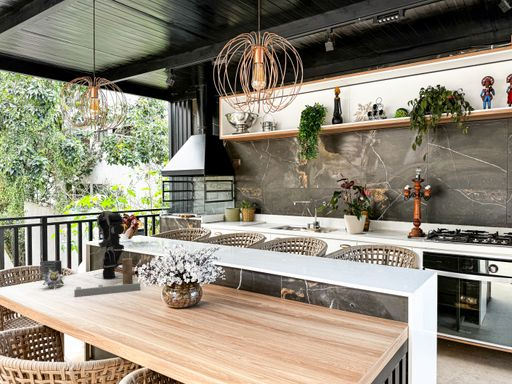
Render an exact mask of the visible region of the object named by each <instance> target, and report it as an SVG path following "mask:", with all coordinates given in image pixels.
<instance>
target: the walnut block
mask: <svg viewBox="0 0 512 384" xmlns="http://www.w3.org/2000/svg"><path fill="white" fill-rule="evenodd" d="M121 263H122V264H121V267H122V268H121V269H122V283H123V285H125V284H133V282H134V281H133V279H134V278H133V275H134V274H133V258H132V257H128V258H127V257H126V258H122V262H121Z"/></svg>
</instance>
